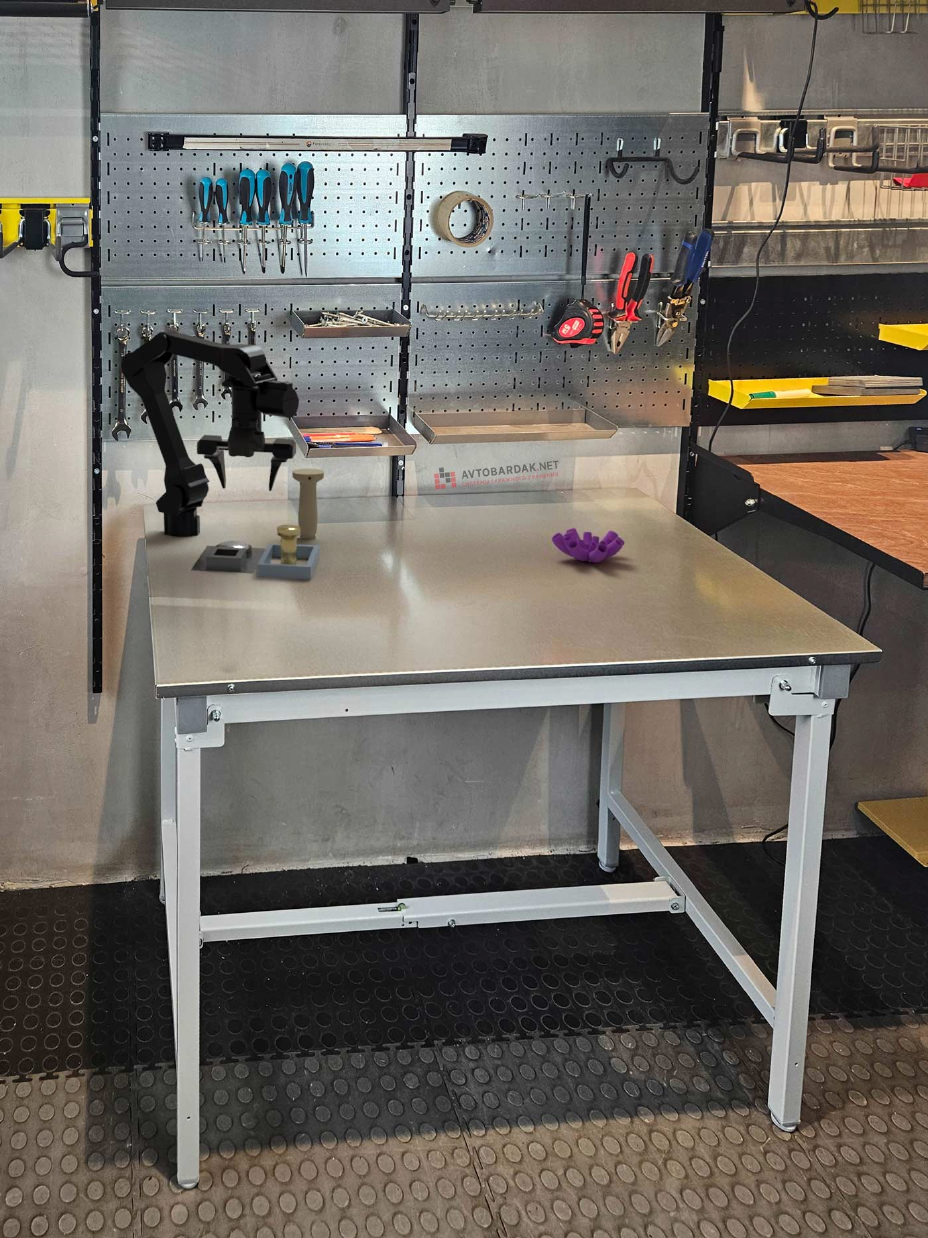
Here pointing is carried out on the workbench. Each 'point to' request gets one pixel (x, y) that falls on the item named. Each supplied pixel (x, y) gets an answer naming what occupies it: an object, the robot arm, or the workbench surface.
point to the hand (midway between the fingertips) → (247, 489)
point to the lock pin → (288, 543)
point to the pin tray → (287, 569)
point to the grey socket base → (229, 558)
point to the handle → (308, 500)
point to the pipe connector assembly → (588, 545)
